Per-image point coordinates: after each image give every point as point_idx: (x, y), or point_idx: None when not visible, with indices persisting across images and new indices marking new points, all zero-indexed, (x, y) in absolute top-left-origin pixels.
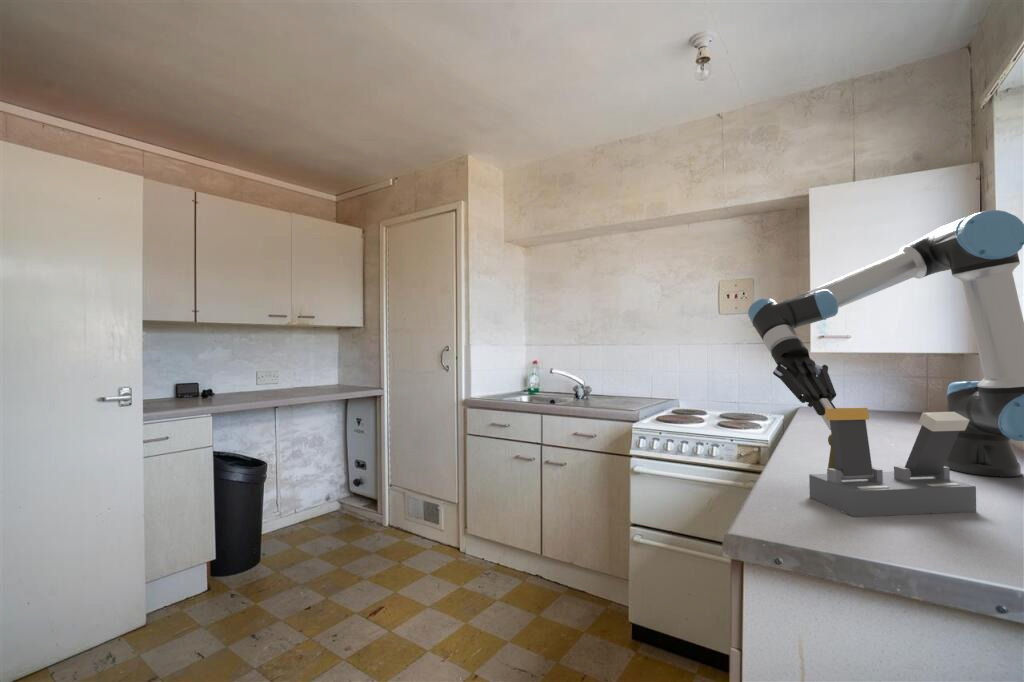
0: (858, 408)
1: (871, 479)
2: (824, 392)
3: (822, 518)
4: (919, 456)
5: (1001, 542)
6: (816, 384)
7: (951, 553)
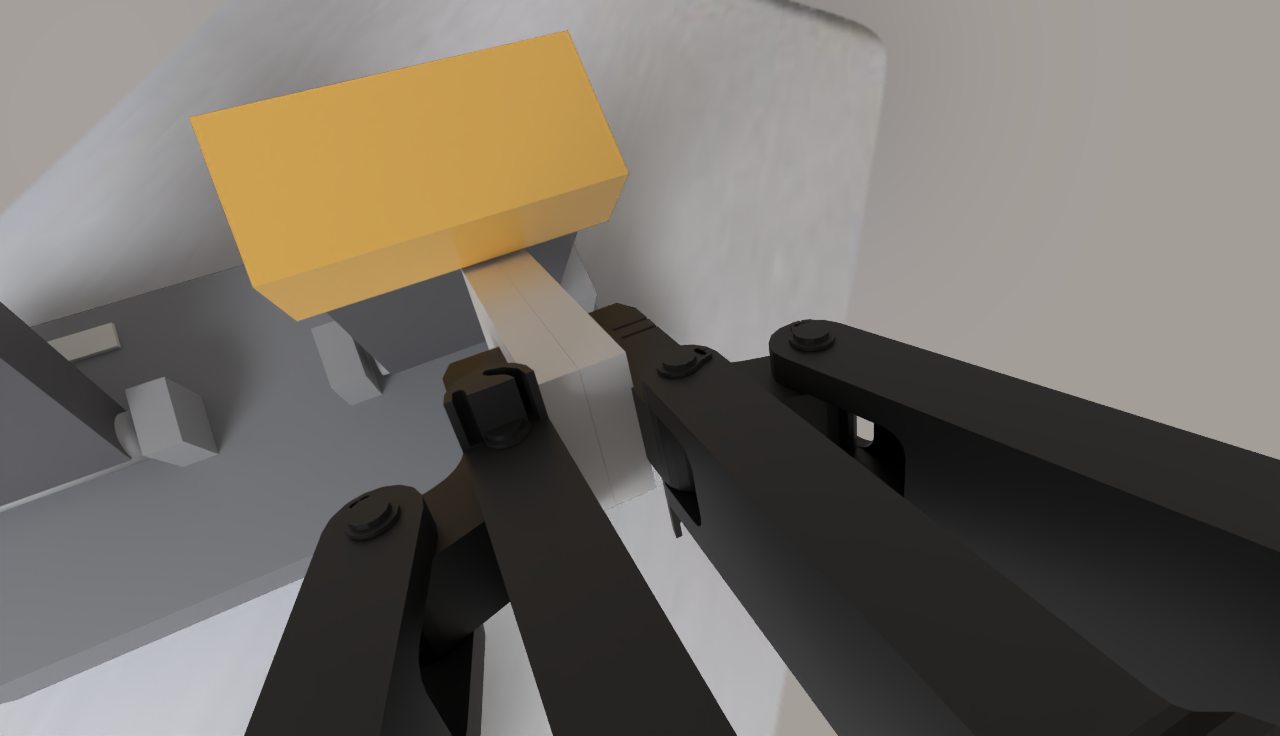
0: (314, 90)
1: (372, 371)
2: (537, 476)
3: (644, 199)
4: (24, 323)
5: (164, 100)
6: (666, 617)
7: (385, 8)
